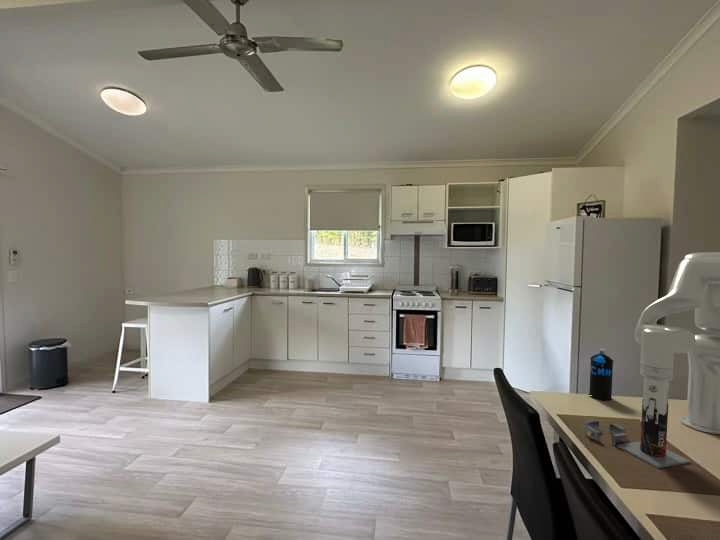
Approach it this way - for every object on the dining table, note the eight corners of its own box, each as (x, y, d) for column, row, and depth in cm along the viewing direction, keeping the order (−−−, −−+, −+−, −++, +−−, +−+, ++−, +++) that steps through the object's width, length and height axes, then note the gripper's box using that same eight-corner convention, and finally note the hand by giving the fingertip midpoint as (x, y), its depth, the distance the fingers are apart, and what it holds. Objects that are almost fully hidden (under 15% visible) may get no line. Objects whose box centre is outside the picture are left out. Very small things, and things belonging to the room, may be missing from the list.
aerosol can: (590, 392, 161) (592, 346, 160) (613, 397, 155) (615, 349, 155) (587, 397, 154) (588, 349, 154) (610, 402, 149) (613, 353, 148)
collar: (605, 427, 127) (605, 418, 127) (636, 442, 117) (637, 433, 117) (574, 431, 124) (575, 422, 124) (604, 447, 113) (604, 437, 113)
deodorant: (656, 458, 106) (659, 406, 106) (635, 448, 112) (637, 398, 111) (670, 455, 108) (673, 404, 108) (649, 445, 114) (651, 396, 113)
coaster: (647, 442, 117) (647, 440, 117) (690, 462, 106) (690, 460, 106) (617, 446, 114) (617, 444, 114) (657, 468, 102) (657, 466, 102)
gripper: (669, 381, 100) (666, 447, 101) (676, 368, 112) (673, 426, 113) (634, 374, 105) (632, 437, 106) (645, 362, 118) (642, 418, 118)
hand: (653, 431), depth 110 cm, fingers open, 6 cm apart
